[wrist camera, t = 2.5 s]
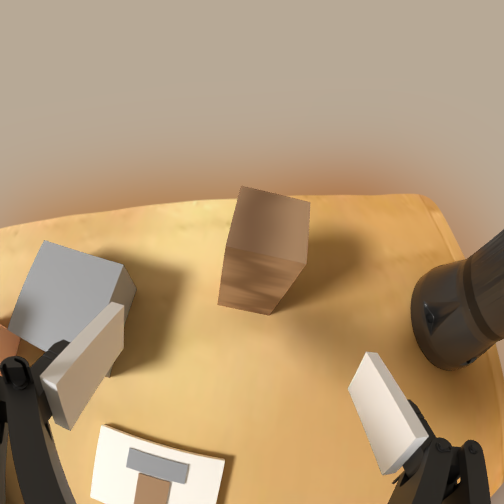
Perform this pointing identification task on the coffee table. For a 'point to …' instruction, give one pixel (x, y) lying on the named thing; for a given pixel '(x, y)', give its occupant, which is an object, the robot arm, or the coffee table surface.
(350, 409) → the coffee table surface
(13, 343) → the terracotta block
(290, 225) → the walnut block
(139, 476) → the picture card
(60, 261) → the slate-grey plinth
